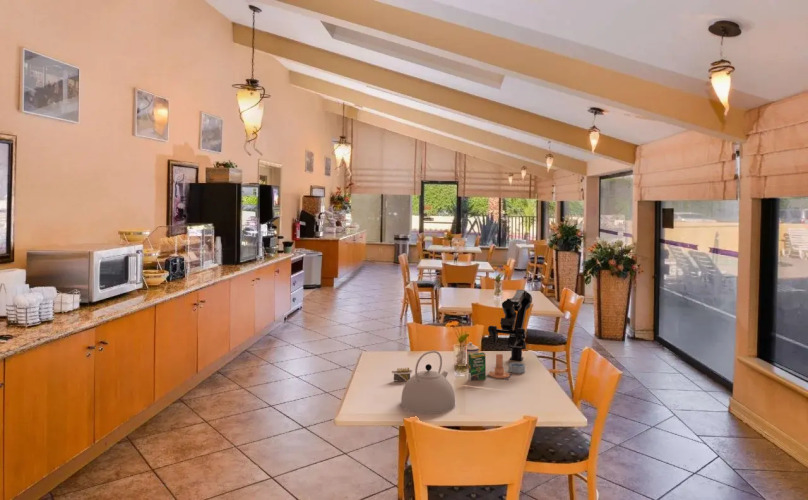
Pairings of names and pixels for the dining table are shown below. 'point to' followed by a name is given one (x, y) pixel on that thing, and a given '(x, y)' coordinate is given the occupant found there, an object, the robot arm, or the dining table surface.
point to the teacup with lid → (471, 350)
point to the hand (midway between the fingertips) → (503, 346)
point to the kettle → (428, 391)
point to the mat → (497, 378)
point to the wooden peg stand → (499, 369)
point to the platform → (402, 374)
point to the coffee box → (477, 366)
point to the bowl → (516, 367)
